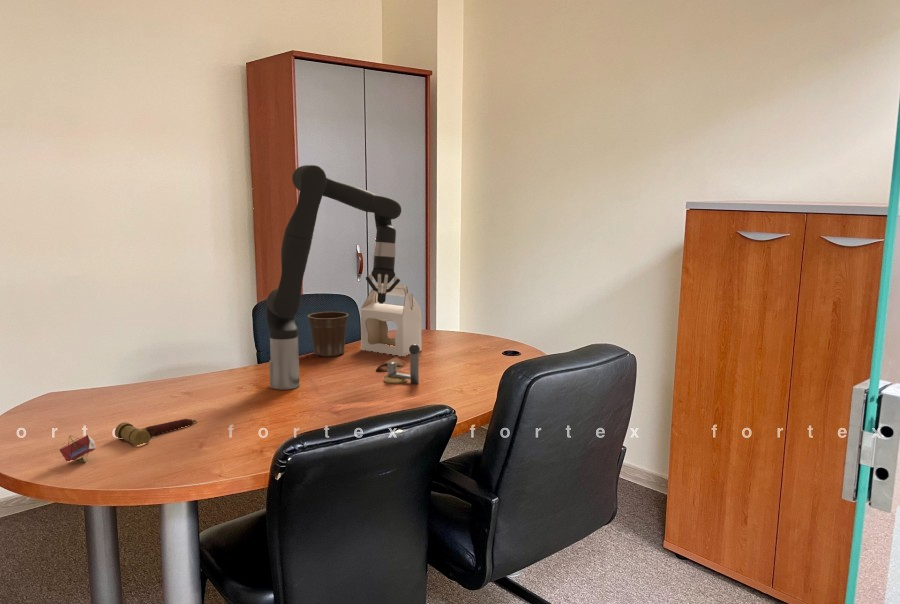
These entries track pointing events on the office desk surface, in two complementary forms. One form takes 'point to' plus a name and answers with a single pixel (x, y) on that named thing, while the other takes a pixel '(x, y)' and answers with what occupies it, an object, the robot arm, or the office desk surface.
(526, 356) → the office desk surface
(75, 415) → the office desk surface
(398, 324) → the gable box
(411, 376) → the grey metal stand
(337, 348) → the plant pot
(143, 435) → the gavel
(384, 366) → the sunglasses case
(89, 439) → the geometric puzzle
